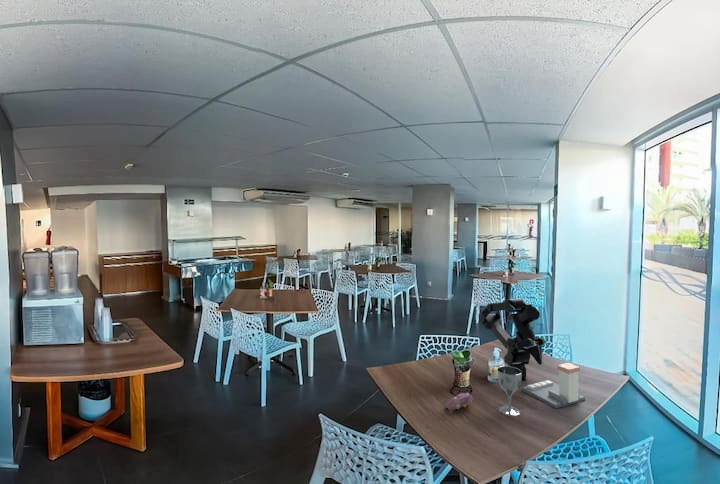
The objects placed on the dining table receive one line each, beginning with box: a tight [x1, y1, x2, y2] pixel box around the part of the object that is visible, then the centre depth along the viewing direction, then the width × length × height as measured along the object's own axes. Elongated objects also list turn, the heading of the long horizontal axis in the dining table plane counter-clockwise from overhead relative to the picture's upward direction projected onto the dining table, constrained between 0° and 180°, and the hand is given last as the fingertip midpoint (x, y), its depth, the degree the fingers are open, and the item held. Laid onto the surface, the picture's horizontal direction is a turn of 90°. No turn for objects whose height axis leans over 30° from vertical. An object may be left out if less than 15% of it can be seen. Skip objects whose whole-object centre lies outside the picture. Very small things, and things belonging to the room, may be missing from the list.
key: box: [557, 362, 580, 403], centre depth 133 cm, size 5×6×12 cm
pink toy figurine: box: [444, 392, 474, 410], centre depth 132 cm, size 10×5×7 cm, turn 119°
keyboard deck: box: [520, 379, 586, 409], centre depth 140 cm, size 16×15×3 cm
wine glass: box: [496, 365, 522, 417], centre depth 129 cm, size 8×8×15 cm
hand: (540, 364), depth 145 cm, fingers closed
